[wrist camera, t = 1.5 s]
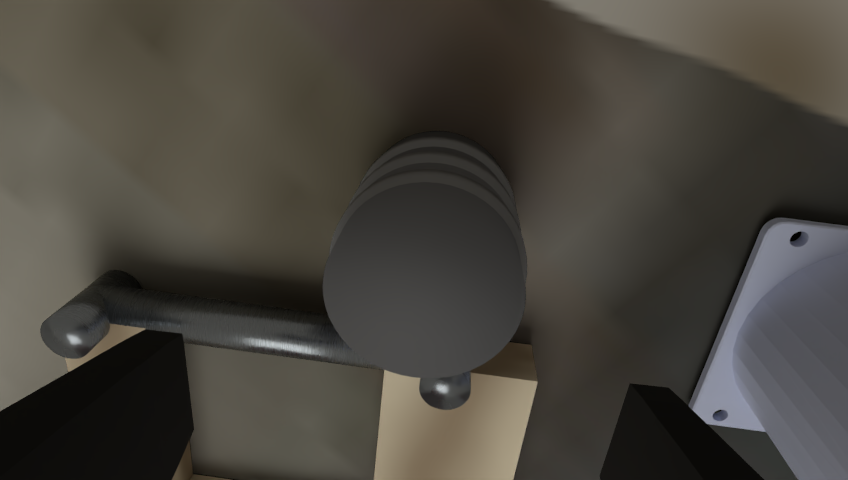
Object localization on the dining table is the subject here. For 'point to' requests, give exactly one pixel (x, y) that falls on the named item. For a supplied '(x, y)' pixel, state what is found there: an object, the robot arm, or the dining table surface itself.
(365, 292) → the grooved grey cylinder
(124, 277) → the hook rod
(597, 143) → the dining table surface
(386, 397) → the wooden picture frame
